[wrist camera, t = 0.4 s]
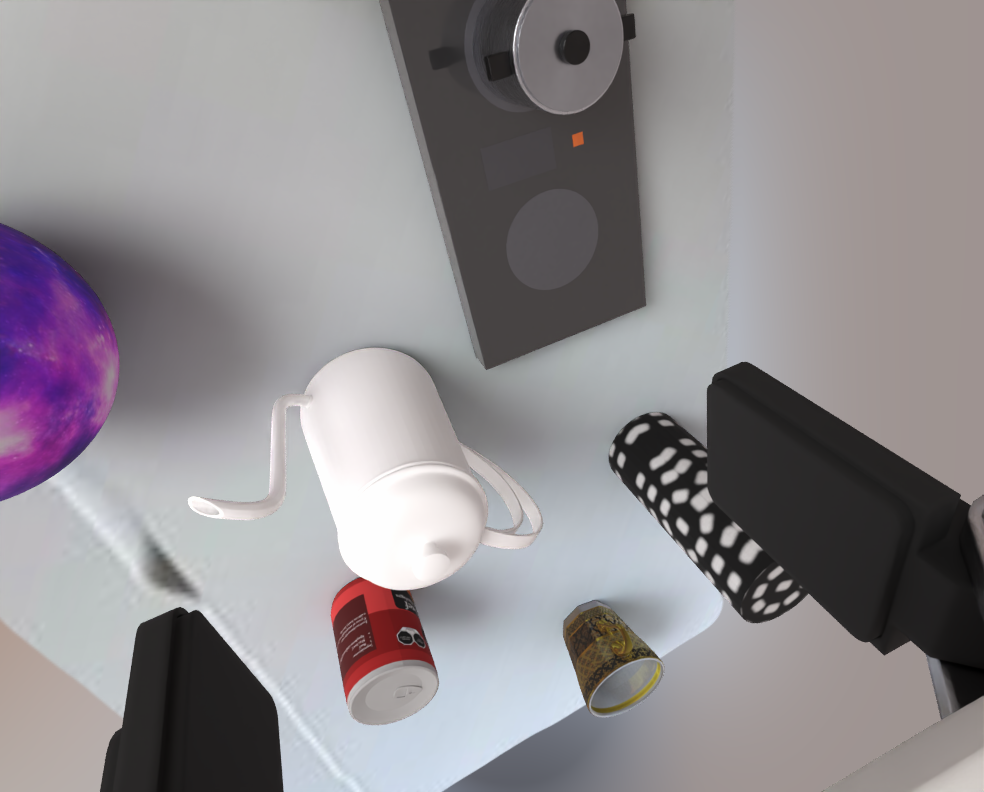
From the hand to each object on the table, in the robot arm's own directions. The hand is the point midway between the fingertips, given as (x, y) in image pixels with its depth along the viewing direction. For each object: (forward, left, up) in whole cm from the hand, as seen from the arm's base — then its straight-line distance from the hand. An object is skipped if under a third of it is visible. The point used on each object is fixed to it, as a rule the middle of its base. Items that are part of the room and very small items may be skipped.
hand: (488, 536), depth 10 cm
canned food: (+40, -9, -35) cm, 54 cm away
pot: (-3, +16, -32) cm, 36 cm away
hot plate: (+3, +16, -35) cm, 38 cm away
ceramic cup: (+59, +13, -35) cm, 70 cm away
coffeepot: (+18, -2, -35) cm, 39 cm away
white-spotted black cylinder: (+36, +23, -35) cm, 55 cm away
